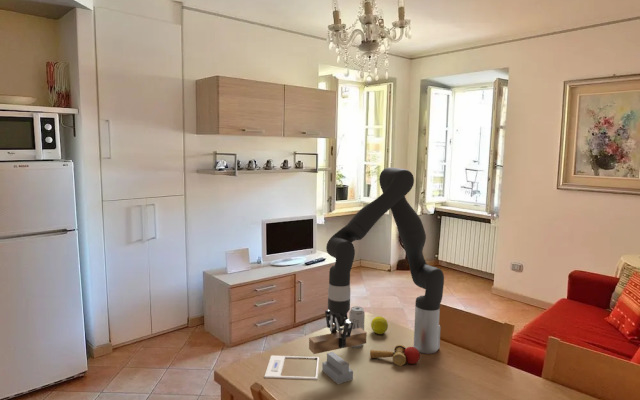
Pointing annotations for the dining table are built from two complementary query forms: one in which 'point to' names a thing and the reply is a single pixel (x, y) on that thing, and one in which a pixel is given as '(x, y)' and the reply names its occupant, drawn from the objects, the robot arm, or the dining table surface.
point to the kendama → (399, 355)
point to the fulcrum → (337, 368)
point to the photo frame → (277, 366)
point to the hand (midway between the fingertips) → (337, 344)
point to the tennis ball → (379, 325)
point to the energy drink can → (357, 319)
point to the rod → (336, 341)
